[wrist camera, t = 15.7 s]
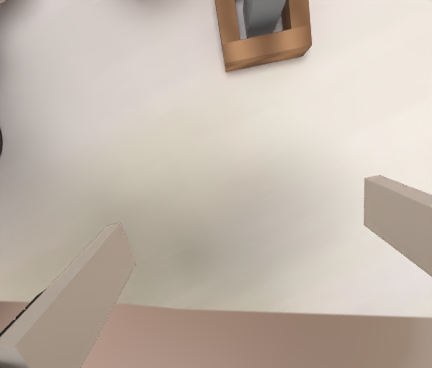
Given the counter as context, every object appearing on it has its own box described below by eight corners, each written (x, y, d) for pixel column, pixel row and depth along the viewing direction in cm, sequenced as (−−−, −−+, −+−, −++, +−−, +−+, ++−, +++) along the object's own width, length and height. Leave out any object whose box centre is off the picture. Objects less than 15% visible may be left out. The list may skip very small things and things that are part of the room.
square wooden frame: (225, 71, 35) (225, 63, 31) (212, -14, 33) (210, -35, 29) (302, 55, 34) (312, 45, 30) (294, -34, 31) (303, -59, 27)
